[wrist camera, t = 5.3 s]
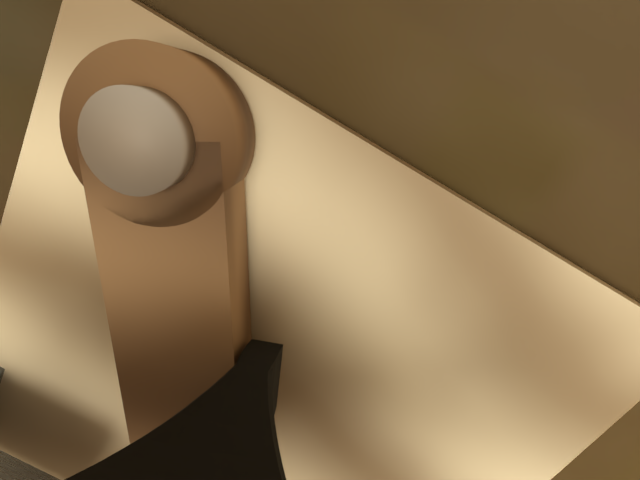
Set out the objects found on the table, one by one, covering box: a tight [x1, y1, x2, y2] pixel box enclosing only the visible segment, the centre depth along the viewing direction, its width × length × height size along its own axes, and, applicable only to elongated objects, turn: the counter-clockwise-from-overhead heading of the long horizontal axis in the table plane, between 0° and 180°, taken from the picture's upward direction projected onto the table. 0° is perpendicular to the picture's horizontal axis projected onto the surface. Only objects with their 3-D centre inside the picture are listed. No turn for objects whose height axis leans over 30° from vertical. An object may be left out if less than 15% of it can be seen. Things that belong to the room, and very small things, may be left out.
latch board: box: [0, 0, 640, 480], centre depth 12 cm, size 16×17×1 cm
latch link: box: [59, 39, 255, 444], centre depth 10 cm, size 15×4×2 cm, turn 179°
